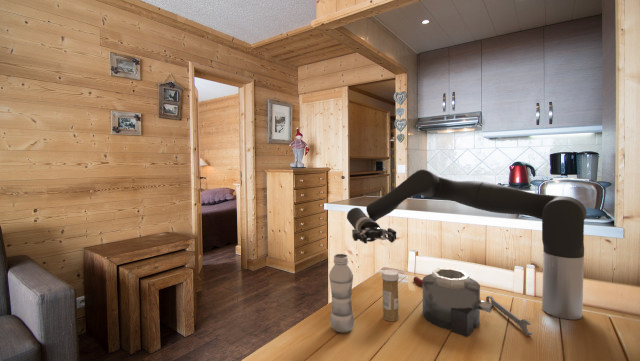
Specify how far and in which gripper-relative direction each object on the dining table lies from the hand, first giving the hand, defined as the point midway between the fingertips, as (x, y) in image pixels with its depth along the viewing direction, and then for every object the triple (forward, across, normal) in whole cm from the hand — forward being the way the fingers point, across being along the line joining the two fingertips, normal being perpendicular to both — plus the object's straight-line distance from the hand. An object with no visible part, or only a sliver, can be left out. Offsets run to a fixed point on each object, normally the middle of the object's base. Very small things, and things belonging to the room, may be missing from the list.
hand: (379, 239), depth 101 cm
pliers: (-6, +22, +20) cm, 31 cm away
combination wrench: (+15, +32, +20) cm, 41 cm away
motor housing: (+14, +18, +20) cm, 30 cm away
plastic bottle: (+16, -14, +20) cm, 29 cm away
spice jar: (+11, 0, +20) cm, 23 cm away
